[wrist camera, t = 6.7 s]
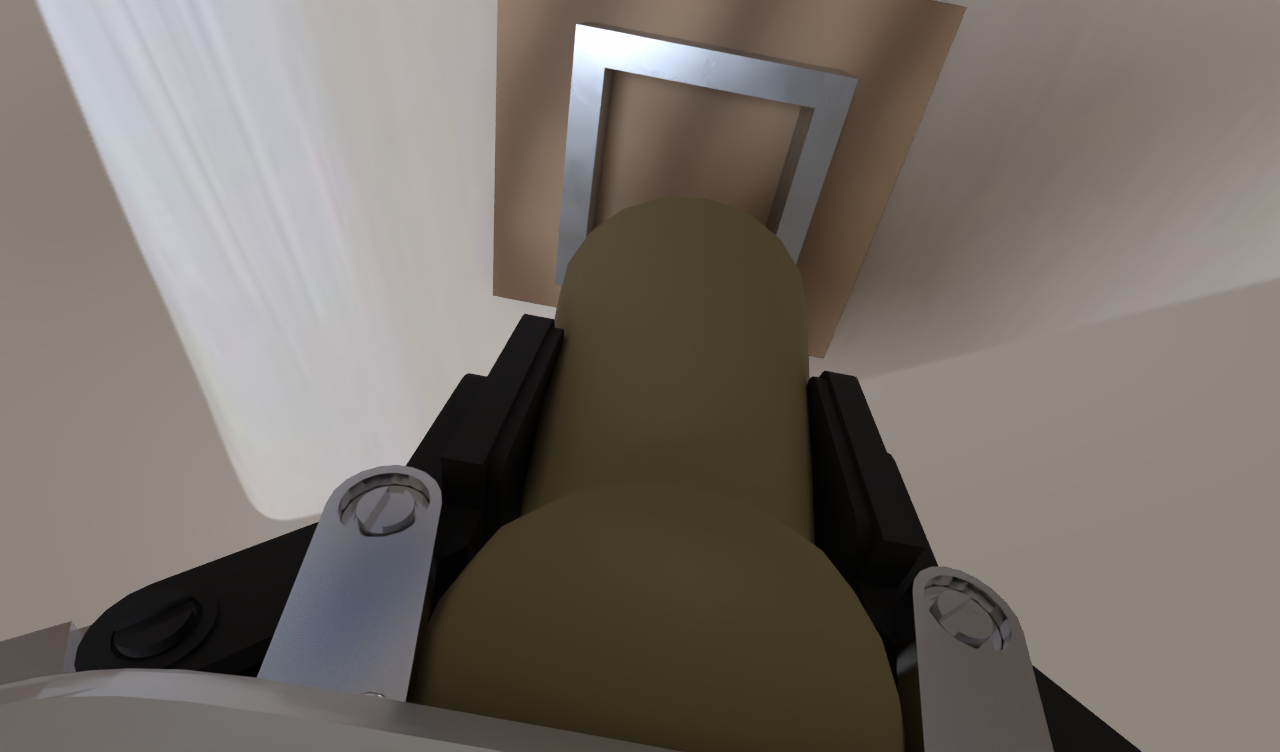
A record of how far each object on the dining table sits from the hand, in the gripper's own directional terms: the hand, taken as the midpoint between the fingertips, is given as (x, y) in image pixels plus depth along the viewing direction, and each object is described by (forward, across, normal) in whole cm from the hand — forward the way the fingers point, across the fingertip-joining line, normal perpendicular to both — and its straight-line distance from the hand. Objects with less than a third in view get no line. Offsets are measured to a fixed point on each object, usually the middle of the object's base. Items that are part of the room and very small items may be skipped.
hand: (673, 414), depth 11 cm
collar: (+18, 0, 0) cm, 18 cm away
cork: (+4, 0, 0) cm, 4 cm away
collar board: (+19, 0, 0) cm, 19 cm away
